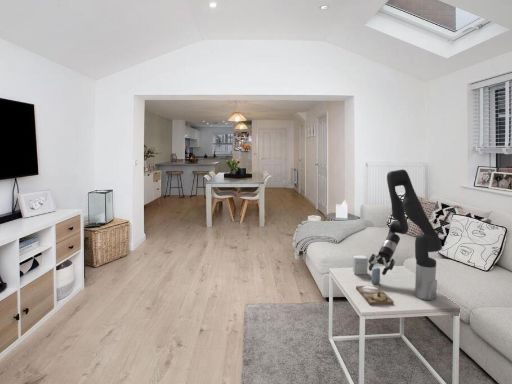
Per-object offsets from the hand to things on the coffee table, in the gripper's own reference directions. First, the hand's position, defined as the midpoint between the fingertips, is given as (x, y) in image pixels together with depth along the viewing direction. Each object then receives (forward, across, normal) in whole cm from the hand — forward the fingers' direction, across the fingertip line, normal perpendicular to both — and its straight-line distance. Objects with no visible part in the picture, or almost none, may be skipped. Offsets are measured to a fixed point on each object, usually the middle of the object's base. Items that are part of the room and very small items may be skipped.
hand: (376, 272), depth 190 cm
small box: (0, -16, +10) cm, 19 cm away
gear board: (+16, +9, -7) cm, 20 cm away
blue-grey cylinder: (+5, 0, +4) cm, 7 cm away
